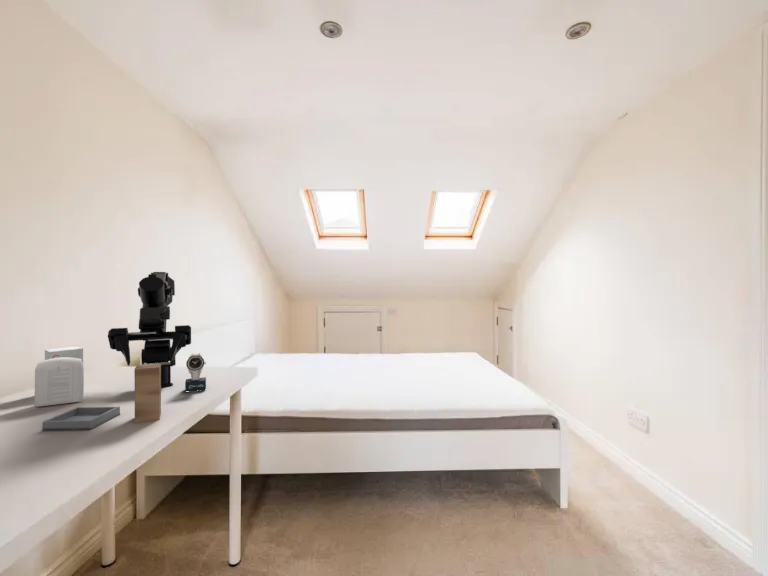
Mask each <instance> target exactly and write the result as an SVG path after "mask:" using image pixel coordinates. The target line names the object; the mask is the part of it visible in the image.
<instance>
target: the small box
mask: <svg viewBox="0 0 768 576" xmlns="http://www.w3.org/2000/svg"><path fill="white" fill-rule="evenodd" d="M60 357H71V358H78V359H82V363H83V364H84V348H83V347H80V346H68V347H59V348H49V349H44V360H48V359H52V358H60Z"/></svg>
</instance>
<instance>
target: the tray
mask: <svg viewBox="0 0 768 576" xmlns="http://www.w3.org/2000/svg"><path fill="white" fill-rule="evenodd" d="M120 415H121V406H76V407H74V408H72V409H70V410H67V411H65V412H63V413H60V414H57V415H55V416H53V417H50V418H48V419H46V420H43V421H42V423H41V425H42V426H41V427H42V429H41V430H42V432H49V431H50V432H52V431H57V432H59V431H92V430H93V429H95V428H98V427H99V426H101V425H103V424H104V423H105V424H106V423H107V422H109V421H110V420H112V419H114V418H116V417H118V416H120Z"/></svg>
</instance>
